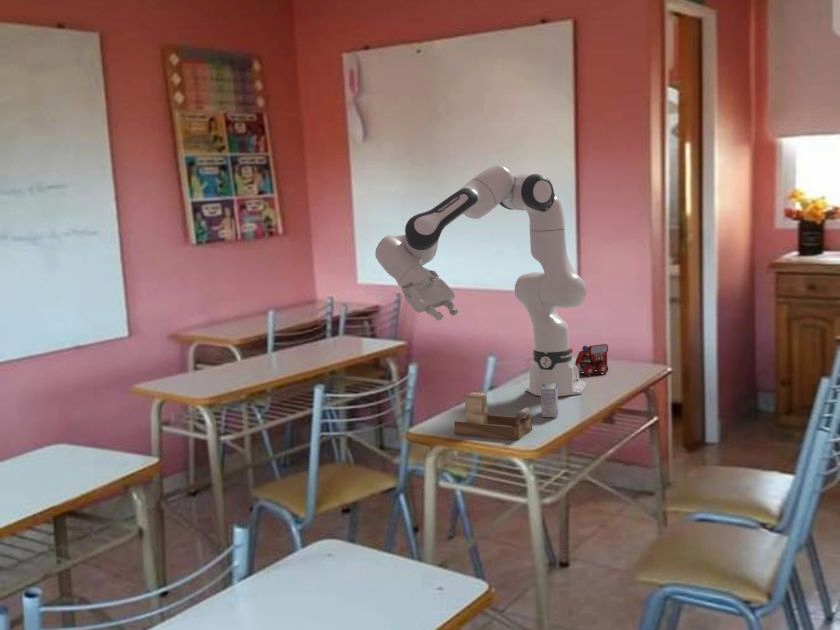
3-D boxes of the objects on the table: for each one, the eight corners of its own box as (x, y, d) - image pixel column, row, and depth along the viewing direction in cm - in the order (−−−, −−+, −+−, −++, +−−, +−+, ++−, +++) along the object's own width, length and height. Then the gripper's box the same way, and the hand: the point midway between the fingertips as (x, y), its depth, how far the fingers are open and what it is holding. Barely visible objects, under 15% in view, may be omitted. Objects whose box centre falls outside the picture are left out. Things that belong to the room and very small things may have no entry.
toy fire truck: (571, 373, 325) (570, 345, 324) (603, 370, 329) (602, 341, 327) (580, 377, 319) (579, 348, 317) (612, 373, 322) (611, 344, 321)
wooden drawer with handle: (470, 424, 263) (469, 401, 262) (534, 430, 254) (533, 405, 253) (454, 434, 254) (453, 409, 253) (520, 440, 245) (519, 414, 244)
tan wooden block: (473, 426, 260) (471, 392, 258) (487, 428, 258) (486, 393, 256) (466, 430, 256) (465, 395, 255) (481, 432, 254) (479, 396, 252)
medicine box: (557, 418, 266) (556, 388, 265) (541, 418, 267) (540, 388, 266) (558, 411, 274) (557, 382, 273) (543, 411, 275) (542, 383, 274)
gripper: (405, 278, 255) (438, 314, 252) (439, 270, 273) (470, 303, 270) (392, 294, 258) (424, 329, 255) (426, 285, 276) (457, 318, 273)
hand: (448, 316), depth 263 cm, fingers open, 8 cm apart
